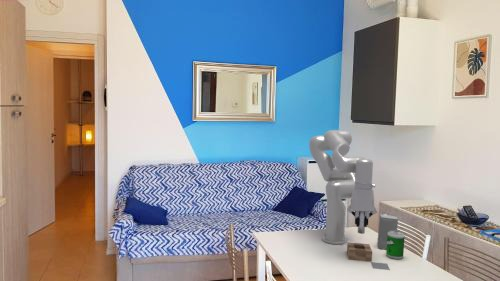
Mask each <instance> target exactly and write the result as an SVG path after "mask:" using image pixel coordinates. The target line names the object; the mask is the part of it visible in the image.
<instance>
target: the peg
mask: <svg viewBox="0 0 500 281" xmlns="http://www.w3.org/2000/svg"><path fill="white" fill-rule="evenodd" d="M365 216H366V212H361V211H359V212H358V218H359V226H358V227H357V233H358V234H360V235H361V234H362V235H363V234H365V231H366V230H365V229H366V227H365Z"/></svg>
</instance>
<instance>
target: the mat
mask: <svg viewBox="0 0 500 281" xmlns="http://www.w3.org/2000/svg"><path fill="white" fill-rule="evenodd" d="M370 264H371V268H372V269H373V270H374V269H375V270H387V271H391V269H390V267H389V265H388V263H385V262H373V261H372V262H370Z"/></svg>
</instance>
